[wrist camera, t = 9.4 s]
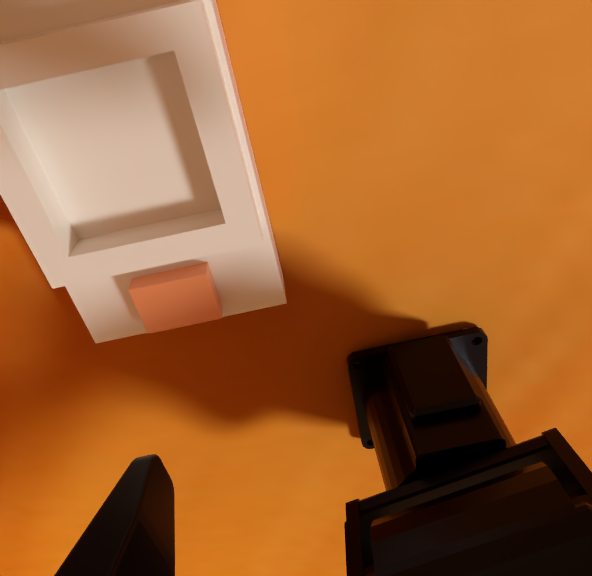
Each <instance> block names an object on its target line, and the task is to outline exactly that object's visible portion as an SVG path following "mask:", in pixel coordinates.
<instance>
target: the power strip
mask: <svg viewBox="0 0 592 576" xmlns="http://www.w3.org/2000/svg"><path fill="white" fill-rule="evenodd" d="M0 195H1V197H2V198H3V200H4V202H5V204H6V206H7V207H8V209H9V211H10V213H11V215H12V217H13V218H14V220H15V222H16V224H17V226H18V227H19V229H20V231H21V233H22V235H23V236H24V238H25V240H26V242H27V244H28V246H29V247H30V249H31V251H32V253H33V255H34V256H35V258H36V260H37V262H38V264H39V265H40V267H41V269H42V271H43V273H44V275H45V276H46V278H47V280H48V282H49V284H50V285H51V287H52V289H54V288H59V287H63V286H65V287H66V289H67V291H68V293H69V295H70V297H71V298H72V300H73V302H74V304H75V306H76V308H77V310H78V312H79V313H80V315H81V317H82V319H83V321H84V323H85V325H86V327H87V328H88V330H89V332H90V334H91V336H92V338H93V340H94V341H95V343H101V342H106V341H110V340H115V339H120V338H125V337H130V336H134V335H139V334H144V333H148V334H151V333H156V332H160V331H165V330H170V329H175V328H180V327H184V326H189V325H194V324H199V323H203V322H208V321H213V320H218V319H222V317H225V316H230V315H234V314H239V313H244V312H249V311H253V310H258V309H263V308H268V307H272V306H277V305H282V304H287V302H286V294H285V286H284V279H283V273H282V269H281V265H280V261H279V257H278V253H277V249H276V245H275V241H274V237H273V233H272V228H271V224H270V220H269V216H268V212H267V208H266V204H265V200H264V196H263V192H262V188H261V183H260V179H259V175H258V171H257V167H256V163H255V159H254V155H253V151H252V147H251V143H250V138H249V134H248V130H247V126H246V122H245V118H244V114H243V110H242V106H241V102H240V98H239V94H238V89H237V85H236V81H235V77H234V73H233V69H232V65H231V61H230V57H229V53H228V49H227V44H226V40H225V36H224V32H223V28H222V24H221V20H220V16H219V12H218V8H217V4H216V0H0Z"/></svg>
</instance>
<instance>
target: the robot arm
mask: <svg viewBox="0 0 592 576" xmlns="http://www.w3.org/2000/svg"><path fill="white" fill-rule="evenodd" d="M475 337H478V338H477V339H475V340H473V339H474V338H475ZM487 343H488V339H487V335H486V334H485V332H484V331H483V330H482V329H481V328H478V327H474V328H469V329H464V330H459V331H454V332H449V333H444V334H440V335H435V336H430V337H425V338H420V339H415V340H410V341H406V342H401V343H396V344H391V345H386V346H381V347H377V348H372V349H367V350H362V351H357V352H354V353H352V354H350V355H349V356H348V358H347V366H348V371H349V377H350V382H351V388H352V393H353V399H354V404H355V410H356V415H357V421H358V426H359V432H360V437H361V442H362V445H363V447H365V448H367V449H373V448H375V451H376V455H377V458H378V462H379V466H380V470H381V473H382V477H383V481H384V484H385V488H386V491H385V492H382V493H379V494H376V495H374V496H371V497H368V498H365V499H362V500H359V499H356V500H353V501H350V502H347V503H346V522H345V545H346V567H347V576H592V472H591V471H590V470H589V468H588V467H587V466H586V465H585V463H584V462H583V461H582V460H581V458H580V457H579V456H578V455H577V453H576V452H575V451H574V450H573V449H572V447H571V446H570V445H569V444H568V442H567V441H566V440H565V439H564V437H563V436H562V435H561V434H560V432H559V431H558V430H557V429H556V428H553V429H550V430H547V431H545V432H542V435H541V436H538V437H535V438H533V439H530V440H527V441H524V442H521V443H519V444H516V443H515V441H514V439H513V437H512V435H511V434H510V432H509V430H508V428H507V426H506V425H505V423H504V421H503V419H502V417H501V416H500V414H499V412H498V410H497V408H496V407H495V405H494V403H493V401H492V399H491V397H490V396H489V394H488V392H487ZM358 361H361V363H359V364H355V362H358ZM370 439H371V440H370ZM54 576H175V520H174V487H173V483H172V480H171V478H170V476H169V474H168V472H167V470H166V468H165V467H164V465H163V463H162V461H161V459H160V458H159V456H157V455H156V454H152V455H147V456H143V457H138V458H136V459H134V460H133V461H132V462H131V464H130V465H129V467H128V468H127V470H126V471H125V473H124V474H123V476H122V477H121V478H120V480H119V481H118V483H117V484H116V486H115V487H114V489H113V490H112V492H111V493H110V495H109V496H108V498H107V499H106V500H105V502H104V503H103V505H102V506H101V508H100V509H99V511H98V512H97V514H96V515H95V517H94V518H93V520H92V521H91V522H90V524H89V525H88V527H87V528H86V530H85V531H84V533H83V534H82V536H81V537H80V539H79V540H78V542H77V543H76V544H75V546H74V547H73V549H72V550H71V552H70V553H69V555H68V556H67V558H66V559H65V561H64V562H63V563H62V565H61V566H60V568H59V569H58V571H57V572H56V574H55V575H54Z"/></svg>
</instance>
